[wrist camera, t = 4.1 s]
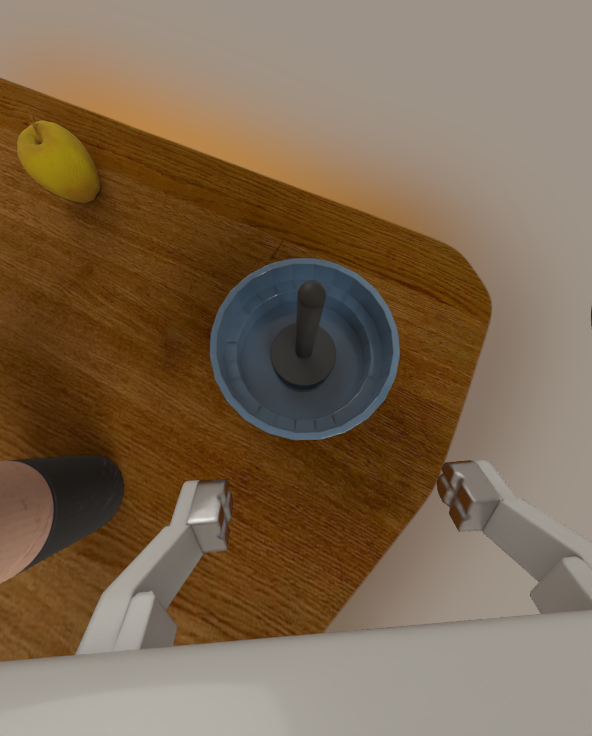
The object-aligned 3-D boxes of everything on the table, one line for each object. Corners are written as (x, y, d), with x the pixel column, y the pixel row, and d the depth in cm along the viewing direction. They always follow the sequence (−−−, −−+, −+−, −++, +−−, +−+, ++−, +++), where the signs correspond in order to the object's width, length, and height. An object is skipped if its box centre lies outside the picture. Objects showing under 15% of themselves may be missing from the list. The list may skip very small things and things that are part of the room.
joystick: (338, 338, 30) (382, 250, 16) (325, 395, 29) (359, 359, 14) (281, 324, 30) (270, 225, 16) (265, 380, 29) (237, 329, 14)
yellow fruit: (96, 164, 36) (42, 89, 28) (122, 197, 35) (73, 130, 27) (50, 189, 35) (-20, 119, 27) (75, 225, 34) (10, 163, 26)
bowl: (389, 311, 32) (413, 281, 25) (360, 455, 28) (380, 462, 22) (251, 278, 33) (241, 240, 26) (207, 415, 29) (183, 411, 23)
